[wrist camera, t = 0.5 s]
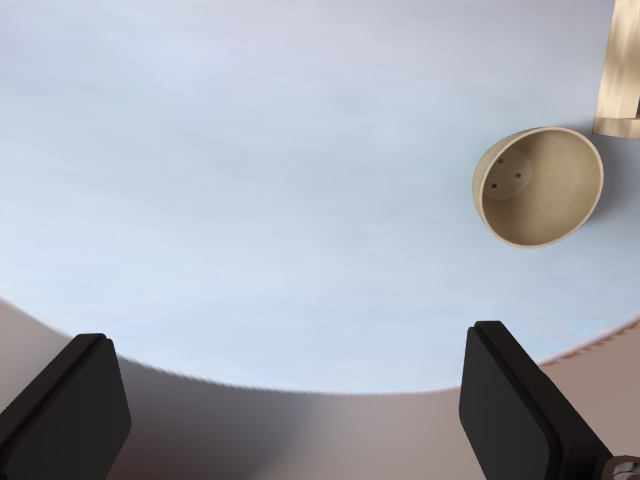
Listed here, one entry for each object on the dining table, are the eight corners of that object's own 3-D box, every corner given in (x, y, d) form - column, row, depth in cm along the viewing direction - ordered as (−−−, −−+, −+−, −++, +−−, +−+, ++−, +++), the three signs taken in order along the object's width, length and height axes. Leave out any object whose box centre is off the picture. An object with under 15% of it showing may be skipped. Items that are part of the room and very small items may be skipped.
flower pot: (432, 198, 40) (456, 220, 33) (487, 102, 37) (526, 104, 30) (516, 238, 42) (555, 266, 35) (575, 148, 39) (631, 160, 32)
